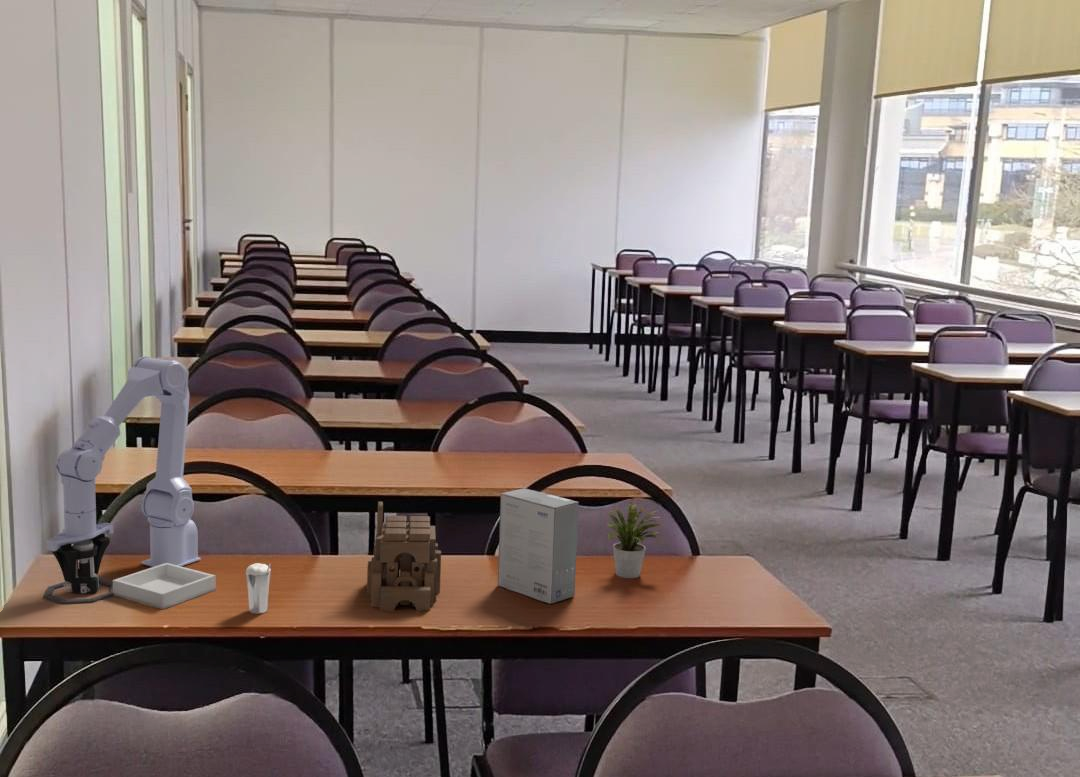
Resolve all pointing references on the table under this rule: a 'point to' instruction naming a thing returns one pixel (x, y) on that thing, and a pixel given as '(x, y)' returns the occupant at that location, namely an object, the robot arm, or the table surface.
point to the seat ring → (49, 596)
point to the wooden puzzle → (404, 563)
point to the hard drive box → (538, 545)
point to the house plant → (630, 541)
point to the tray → (164, 585)
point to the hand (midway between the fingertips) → (81, 577)
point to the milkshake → (258, 587)
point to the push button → (85, 569)
